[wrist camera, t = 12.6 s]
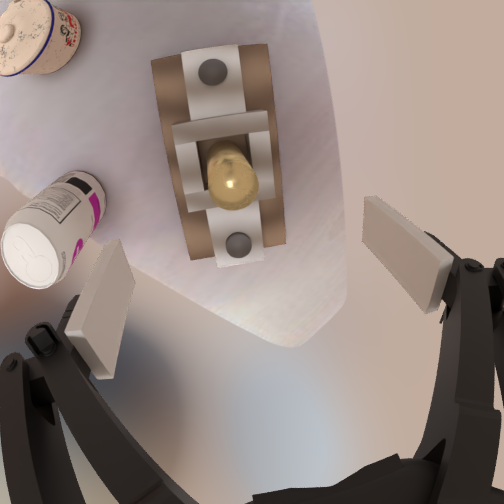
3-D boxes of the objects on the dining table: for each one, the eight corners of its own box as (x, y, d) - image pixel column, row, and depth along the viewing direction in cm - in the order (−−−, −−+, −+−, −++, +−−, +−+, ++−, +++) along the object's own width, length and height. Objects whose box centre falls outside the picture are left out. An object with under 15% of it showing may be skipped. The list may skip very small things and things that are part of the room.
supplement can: (119, 207, 36) (81, 270, 23) (77, 237, 37) (34, 305, 24) (85, 157, 32) (25, 199, 19) (44, 192, 33) (-15, 246, 20)
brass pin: (199, 154, 33) (197, 184, 23) (227, 133, 32) (238, 152, 22) (221, 179, 35) (229, 219, 24) (247, 159, 34) (268, 190, 24)
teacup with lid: (94, 44, 25) (51, 29, 15) (39, 89, 26) (-14, 96, 16) (62, -14, 19) (20, -39, 9) (11, 30, 19) (-41, 23, 10)
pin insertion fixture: (153, 62, 28) (144, 56, 23) (264, 45, 28) (275, 37, 24) (191, 254, 41) (190, 277, 36) (283, 238, 42) (293, 258, 37)
